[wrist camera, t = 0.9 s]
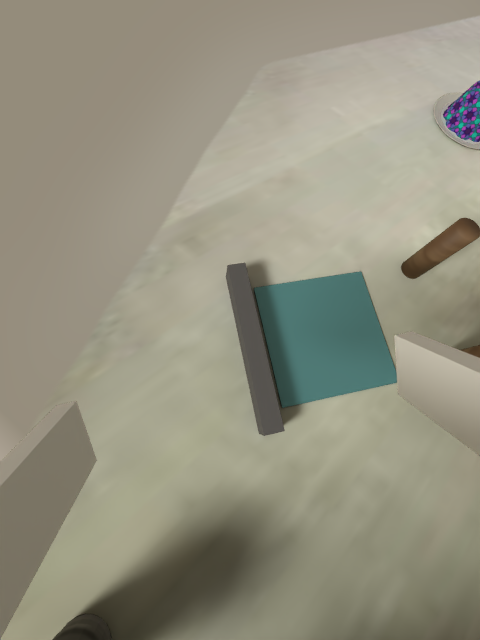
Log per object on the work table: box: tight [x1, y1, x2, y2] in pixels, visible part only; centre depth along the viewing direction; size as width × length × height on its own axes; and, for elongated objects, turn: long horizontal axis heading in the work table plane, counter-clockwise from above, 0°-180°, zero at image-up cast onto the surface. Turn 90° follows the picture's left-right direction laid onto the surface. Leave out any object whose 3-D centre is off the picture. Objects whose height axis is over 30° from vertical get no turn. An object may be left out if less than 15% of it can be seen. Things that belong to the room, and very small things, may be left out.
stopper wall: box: [226, 263, 284, 436], centre depth 32 cm, size 18×2×3 cm, turn 12°
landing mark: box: [254, 272, 397, 408], centre depth 35 cm, size 14×14×1 cm
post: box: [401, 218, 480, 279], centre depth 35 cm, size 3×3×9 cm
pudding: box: [434, 81, 480, 149], centre depth 46 cm, size 12×12×5 cm
